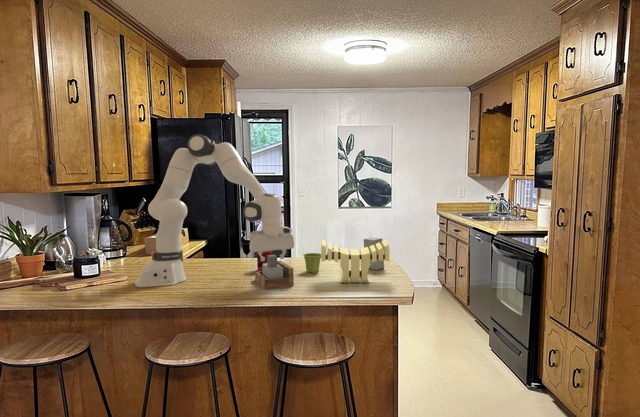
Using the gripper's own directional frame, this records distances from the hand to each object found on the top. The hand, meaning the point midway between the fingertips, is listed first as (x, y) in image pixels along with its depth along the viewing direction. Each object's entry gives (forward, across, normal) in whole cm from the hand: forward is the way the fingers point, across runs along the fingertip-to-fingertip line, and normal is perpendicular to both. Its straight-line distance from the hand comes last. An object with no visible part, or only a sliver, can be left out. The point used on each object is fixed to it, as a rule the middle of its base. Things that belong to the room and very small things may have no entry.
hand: (272, 260), depth 184 cm
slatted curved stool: (+11, +36, -12) cm, 39 cm away
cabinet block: (+11, 0, 0) cm, 11 cm away
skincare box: (+11, +56, +4) cm, 57 cm away
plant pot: (+11, +25, +12) cm, 30 cm away
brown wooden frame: (+11, 0, 0) cm, 11 cm away
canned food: (+11, +4, +26) cm, 28 cm away
